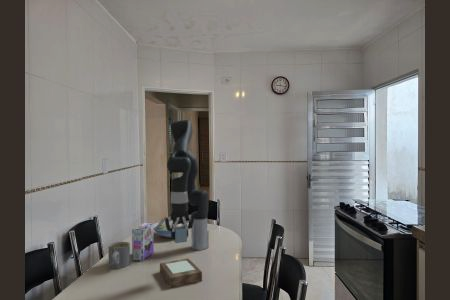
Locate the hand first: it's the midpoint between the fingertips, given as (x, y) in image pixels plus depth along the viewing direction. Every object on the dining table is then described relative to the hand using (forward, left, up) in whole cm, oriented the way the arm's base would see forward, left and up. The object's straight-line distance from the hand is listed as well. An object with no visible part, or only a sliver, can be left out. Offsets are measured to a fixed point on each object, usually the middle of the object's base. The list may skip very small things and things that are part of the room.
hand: (179, 238), depth 138 cm
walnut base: (0, 0, -17) cm, 17 cm away
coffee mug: (+24, -25, -17) cm, 39 cm away
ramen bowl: (-13, -63, -17) cm, 66 cm away
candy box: (+10, -33, -17) cm, 38 cm away
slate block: (0, 0, -1) cm, 1 cm away
